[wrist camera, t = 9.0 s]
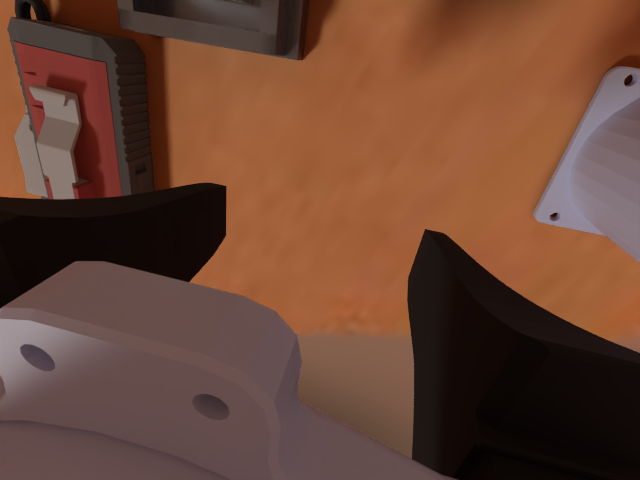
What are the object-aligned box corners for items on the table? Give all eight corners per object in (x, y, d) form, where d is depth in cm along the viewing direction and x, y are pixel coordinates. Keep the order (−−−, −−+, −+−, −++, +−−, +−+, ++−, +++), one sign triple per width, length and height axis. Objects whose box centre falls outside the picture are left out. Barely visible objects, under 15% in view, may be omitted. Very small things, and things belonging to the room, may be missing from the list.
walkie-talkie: (10, -11, 19) (73, 265, 29) (-83, -29, 16) (25, 296, 25) (149, 20, 19) (165, 292, 29) (87, 9, 15) (130, 327, 25)
